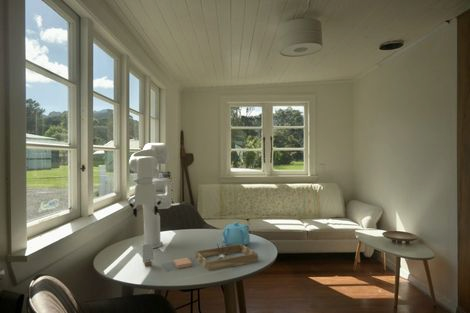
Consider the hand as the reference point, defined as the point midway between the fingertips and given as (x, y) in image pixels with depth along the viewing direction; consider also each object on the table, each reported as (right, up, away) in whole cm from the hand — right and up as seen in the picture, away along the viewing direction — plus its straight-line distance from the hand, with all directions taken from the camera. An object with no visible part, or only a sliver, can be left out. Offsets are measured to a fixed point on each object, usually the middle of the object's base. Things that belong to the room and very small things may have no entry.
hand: (145, 215), depth 146 cm
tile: (+17, -22, -1) cm, 28 cm away
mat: (+18, -24, -4) cm, 30 cm away
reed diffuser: (+40, -24, +4) cm, 47 cm away
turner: (+3, -19, -5) cm, 19 cm away
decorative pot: (+46, -24, +28) cm, 59 cm away
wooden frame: (+40, -23, +2) cm, 47 cm away
